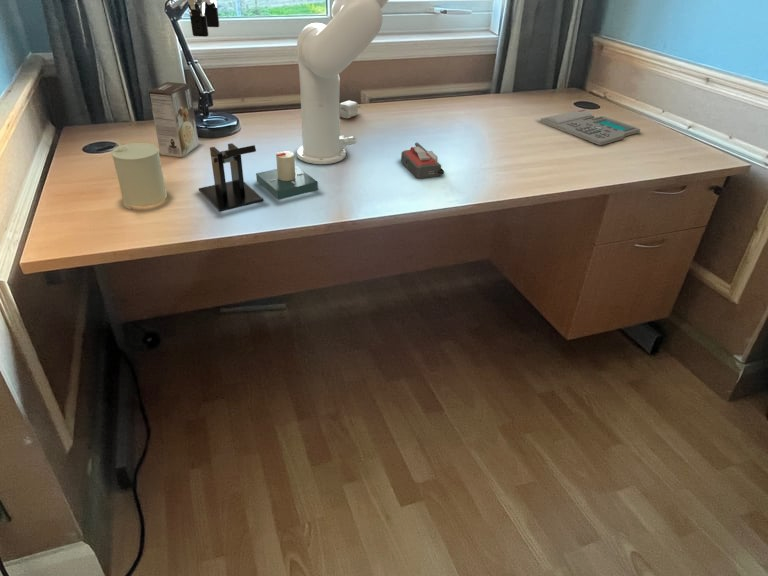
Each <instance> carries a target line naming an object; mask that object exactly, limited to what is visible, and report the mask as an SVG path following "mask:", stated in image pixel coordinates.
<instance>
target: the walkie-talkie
mask: <svg viewBox="0 0 768 576" xmlns="http://www.w3.org/2000/svg"><path fill="white" fill-rule="evenodd" d="M400 155H401V156H400V161H401V163H402V164H403V165H404V166H405V168H407V170H409V171H410V172H411V174H413V175H414V176H415V178H417V179H428V178H436V177H437V178H438V177H440V176H442V175H445V171H444V169H443V168H442V164H440V163H439V162H438V155H436V153H434V151H433V150H427V149H426V148H424V147H423V146H422V145H421V144H420V143H419V142H415V143H414V146H411V147H410V148H409V149H406V150H403V151H401V154H400Z"/></svg>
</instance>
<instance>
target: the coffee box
mask: <svg viewBox="0 0 768 576" xmlns="http://www.w3.org/2000/svg"><path fill="white" fill-rule="evenodd" d="M148 97H149V102H150V107H151V112H152V117H153V122H154V127H155V128H154V129H155V132H156V137H157V143H158V149H159V155H161V156H168V157H177V158H184V157H185V156H187V155H188V154H189V153H190V152H192V151H193V150H194V149H195V148H197V147H198V146H199V145H200V141H199V136H198V130H197V123H196V117H195V110H194V104H193V97H192V90H191V84H190V83H183V82H171V81H166V82H164V83H162V84H160V85H158V86H157V87H155V88H152V89H150V90H149V91H148Z"/></svg>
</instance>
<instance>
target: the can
mask: <svg viewBox="0 0 768 576" xmlns="http://www.w3.org/2000/svg"><path fill="white" fill-rule="evenodd" d="M111 157H112V159H113V164H114V167H115V171H116V172H115V173H116V175H117V180H118V183H119V188H120V193H121V197H122V205H123V206H124V208H126V209H128V210H131V211H132V210H133V209H132V207H136V208H137V207H139V208H141V207H143V208H144V207H150V206H154V205H158V204H160V203H162V202H164V201H165V200H166V199H167V197H168V194H167V189H166V185H165V180H164V174H163V168H162V164H161V157H160V148H159V146H158V145H156V144H153V143H149V142H130V143H125V144H122V145H119V146H117V147H115V148H113V149H112V151H111Z"/></svg>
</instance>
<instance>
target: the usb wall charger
mask: <svg viewBox="0 0 768 576" xmlns="http://www.w3.org/2000/svg"><path fill="white" fill-rule="evenodd" d="M360 108H361V106H360V105H359V104H358V102H357V101H353V100H350V99H349V100H346V101H343V102H339V110H340V118H343V119H350V118H353V117H356V116H358V114H359V113H358V109H360Z"/></svg>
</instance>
